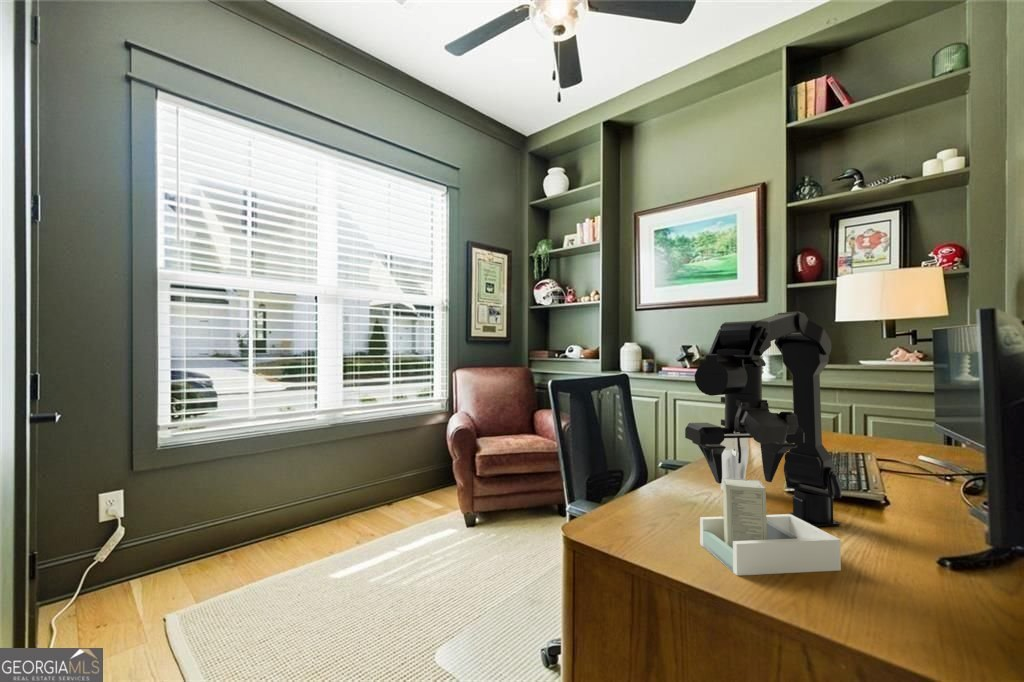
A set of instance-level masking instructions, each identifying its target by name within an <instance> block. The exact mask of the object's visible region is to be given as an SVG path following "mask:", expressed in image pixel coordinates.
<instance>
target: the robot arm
mask: <svg viewBox="0 0 1024 682" xmlns="http://www.w3.org/2000/svg"><path fill="white" fill-rule="evenodd" d="M772 341H774V345H775V347H776V348H777V349H778V351H779V352H780V354H781V358H782V363H783V365H784V366H785V368H786V369H787V370H788V371H789V373H790V374H791V378H792V402H793V403H792V407H793V411H780V412H779V413H778V412H771V411H770V409H769V408H770V407H769V402H768V400H767V399H763V375H762V374H763V373H762V371H763V367H766V366H767V363H766V362H765V360H764V359H763V358H762V357H761V356H763V355H764V352H766V351H767V350H768V349H770V348H771V347H772ZM831 352H832V341H831V339H830V336H829V335H828V333H827V332H826V330H825V328H824V327H822V326H821V325H819V324H817V323H815V322H813V321H812V320H810V319H809V318H808V317H807V315H806V314H805V312H801V311H790V312H789V311H785V312H778V313H776V314H774V315H771V316H768V317H765V318H762V319H759V320H745V321H728V322H727V321H725V322H723V323H722V324H721V325H720V327H719V330H717V332H716V334H715V338H714V340H713V342H712V344H711V348H710V349H709V352H708V353H706V354H705V361H703V362H702V363H700V364H699V365H698V367H697V369H696V370H695V373H694V383H695V385H696V387H697V389H698V390H699V391H700V392H701V393H702V394H704V395H706V396H710V397H711V396H720V403H722V404H724V419H720V426H718V425H716V424H714V423H713V424H712V423H709V422H689V423H687V425H686V427H685V429H684V435H685V436H684V439H687V440H690V441H691V442H692V444H694V445H697V446H698V448H699V449H700V451H701V453H702V455H703V456H704V458H705V460H706V462H707V464H708V467H709V469H710V471H711V474H712V476H713V478H714V480H715V482H716V483H717V484H719V485H721V483H722V453H723V451H724V449H725V448H726V447H725V446H723V445H720V444H721V443H722V442H723V441H724V438H748V439H753V440H754V441H755V442H756V443H759V445H760V452H761V453H760V454H761V461H762V471H763V476H764V480H765V482H768V483H772V482H773V480H774V477H775V475H776V472H777V470H778V467H779V466H780V463H781V461H782V459H783V457H784V465H783V472H784V473H783V474H784V478H785V484H786V488H787V489H793V491H794V493H793V494H794V496H792V512H789V513H788V514H791V515H793V516H795V517H797V518H799V519H801V520H803V521H805V522H807V523H809V524H811V525H813V526H815V527H833V526H834V527H837V526H840V525H841V523H840V522H839V521H837V520H835V519H834V499H835V498H836V499H841V498H842V491H843V483H842V482H841V480H840V479H841V478H840V477H839V475H838V473H837V471H836V469H835V468H834V465H833V457H832V456H831V454H830V453H829V451H828V449H827V448H825V446H824V445H823V439H822V438H823V436H822V432H823V431H822V408H821V407H822V405H821V403H822V401H821V381H820V380H821V379H820V375H821V373H822V372H823V370H824V369H825V368H826V366H827V365H828V363H829V361H830V354H831ZM722 395H723V396H722ZM721 426H722V427H721ZM734 432H735V433H734ZM736 432H737V433H736ZM738 432H739V433H738Z"/></svg>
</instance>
